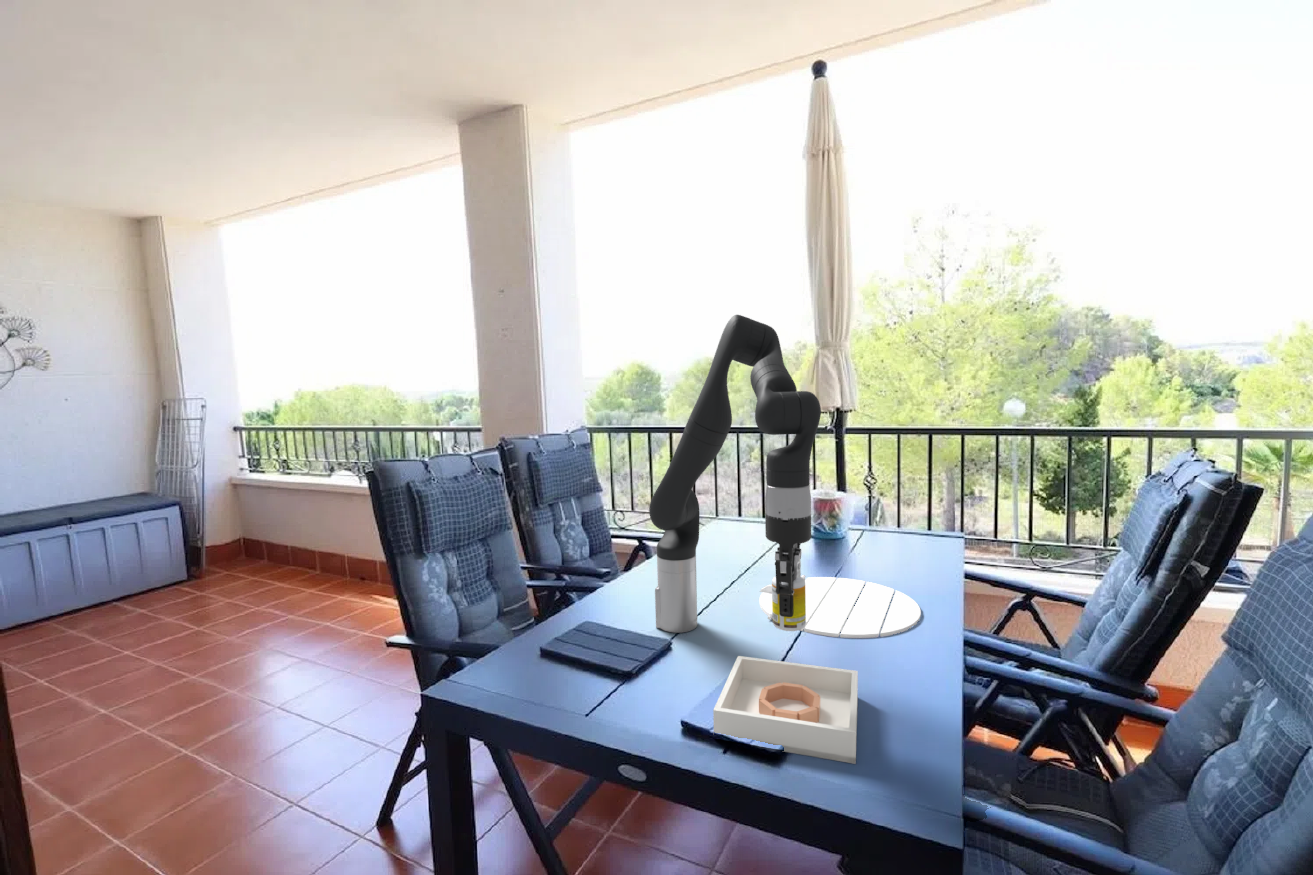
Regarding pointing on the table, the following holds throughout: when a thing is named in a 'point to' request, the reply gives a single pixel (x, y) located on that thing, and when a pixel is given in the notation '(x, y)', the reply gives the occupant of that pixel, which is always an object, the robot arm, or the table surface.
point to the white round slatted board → (836, 601)
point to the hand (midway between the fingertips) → (788, 608)
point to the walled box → (791, 707)
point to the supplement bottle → (799, 606)
